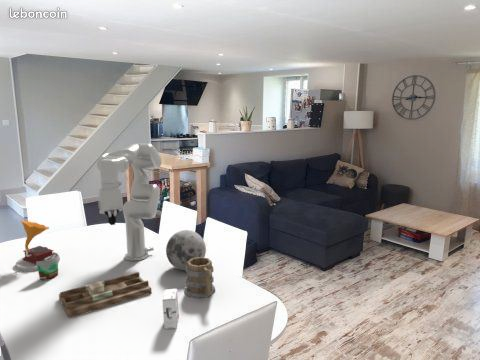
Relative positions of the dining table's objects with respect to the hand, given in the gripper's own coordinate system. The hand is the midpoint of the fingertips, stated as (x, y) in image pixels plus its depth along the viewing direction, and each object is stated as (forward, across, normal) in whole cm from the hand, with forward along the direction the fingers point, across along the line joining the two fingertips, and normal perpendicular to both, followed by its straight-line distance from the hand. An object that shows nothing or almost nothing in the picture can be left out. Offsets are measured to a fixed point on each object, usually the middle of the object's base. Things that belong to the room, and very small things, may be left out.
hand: (112, 224), depth 172 cm
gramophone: (+27, +27, -42) cm, 57 cm away
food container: (+27, +24, -20) cm, 42 cm away
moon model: (+27, -33, +10) cm, 44 cm away
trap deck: (+27, +9, +15) cm, 32 cm away
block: (+25, +13, +15) cm, 32 cm away
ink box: (+27, -5, +50) cm, 57 cm away
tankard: (+27, -26, +38) cm, 54 cm away
